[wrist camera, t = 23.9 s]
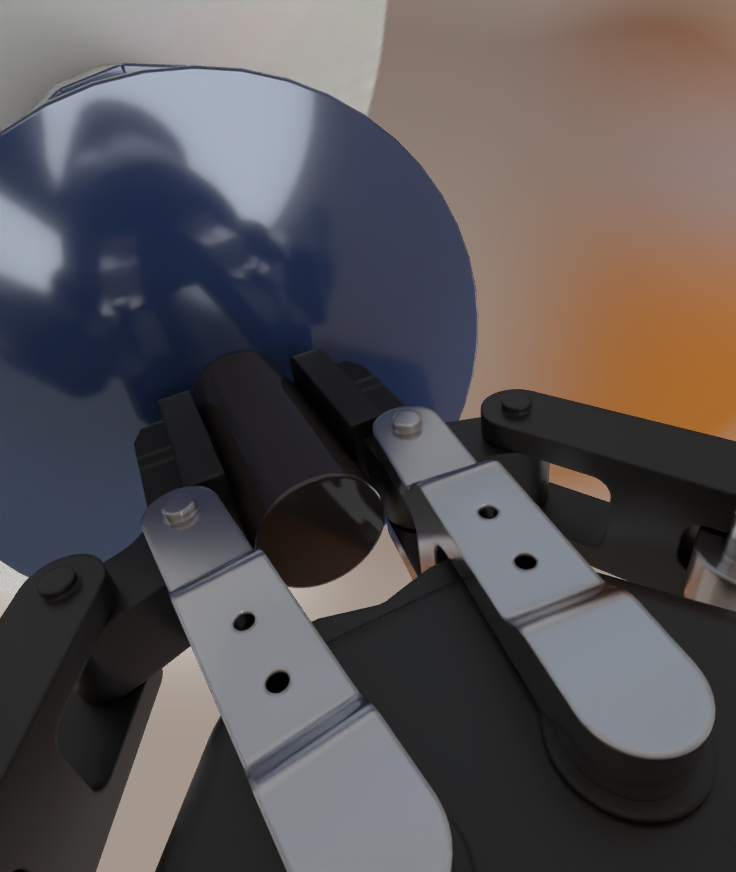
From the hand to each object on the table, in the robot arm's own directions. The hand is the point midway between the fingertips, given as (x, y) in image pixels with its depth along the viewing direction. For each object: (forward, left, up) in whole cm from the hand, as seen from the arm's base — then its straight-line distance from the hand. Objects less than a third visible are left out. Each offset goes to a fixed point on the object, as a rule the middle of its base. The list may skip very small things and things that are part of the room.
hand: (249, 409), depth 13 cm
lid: (0, 0, -1) cm, 1 cm away
